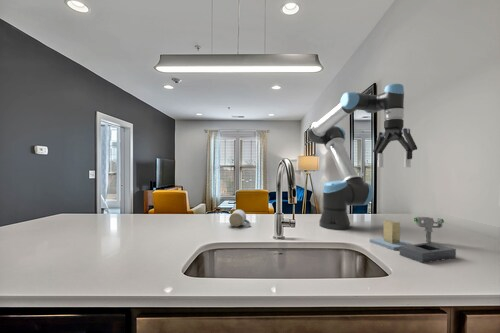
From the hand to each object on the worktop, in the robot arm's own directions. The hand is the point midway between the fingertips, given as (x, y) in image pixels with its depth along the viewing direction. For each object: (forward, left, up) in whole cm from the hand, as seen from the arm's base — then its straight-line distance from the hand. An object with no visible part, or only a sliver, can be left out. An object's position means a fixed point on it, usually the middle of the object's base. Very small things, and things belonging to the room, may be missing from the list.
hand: (393, 167), depth 111 cm
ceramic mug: (-38, -59, -31) cm, 77 cm away
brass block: (+9, -11, -30) cm, 33 cm away
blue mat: (+9, -11, -31) cm, 34 cm away
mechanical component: (+11, +7, -31) cm, 34 cm away
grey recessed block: (+23, -11, -31) cm, 40 cm away
